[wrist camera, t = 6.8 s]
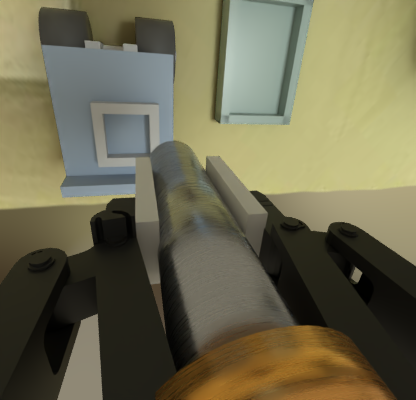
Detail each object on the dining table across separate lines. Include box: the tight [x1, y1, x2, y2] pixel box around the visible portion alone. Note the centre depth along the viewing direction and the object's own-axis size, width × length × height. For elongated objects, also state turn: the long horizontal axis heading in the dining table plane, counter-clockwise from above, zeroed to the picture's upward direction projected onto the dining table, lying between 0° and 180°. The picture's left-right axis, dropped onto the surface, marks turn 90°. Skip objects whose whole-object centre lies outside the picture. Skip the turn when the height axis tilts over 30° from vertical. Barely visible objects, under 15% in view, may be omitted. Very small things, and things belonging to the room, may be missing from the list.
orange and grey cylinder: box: [149, 141, 397, 400], centre depth 11 cm, size 5×5×16 cm
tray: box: [215, 0, 314, 125], centre depth 37 cm, size 16×11×3 cm
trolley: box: [39, 7, 176, 197], centre depth 30 cm, size 18×14×12 cm
